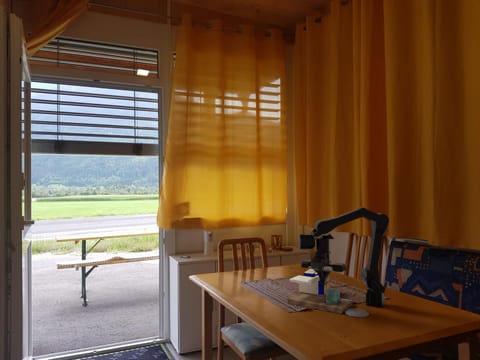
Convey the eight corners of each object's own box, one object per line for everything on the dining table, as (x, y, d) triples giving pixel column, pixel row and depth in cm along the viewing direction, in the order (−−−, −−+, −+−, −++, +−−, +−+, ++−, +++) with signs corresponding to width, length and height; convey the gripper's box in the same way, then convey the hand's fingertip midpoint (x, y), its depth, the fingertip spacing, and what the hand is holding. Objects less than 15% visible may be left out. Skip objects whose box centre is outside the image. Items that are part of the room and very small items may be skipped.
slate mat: (371, 312, 147) (371, 311, 147) (364, 319, 139) (364, 317, 139) (349, 308, 152) (349, 307, 152) (341, 314, 145) (341, 313, 145)
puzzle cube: (303, 293, 175) (303, 272, 175) (309, 288, 184) (309, 268, 184) (324, 296, 170) (323, 274, 171) (329, 291, 179) (329, 270, 179)
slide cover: (320, 294, 164) (320, 275, 164) (311, 299, 156) (310, 280, 156) (300, 290, 170) (299, 272, 170) (289, 295, 161) (289, 276, 162)
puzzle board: (352, 305, 157) (352, 299, 157) (340, 313, 145) (340, 308, 145) (301, 295, 171) (301, 290, 171) (287, 303, 159) (287, 298, 159)
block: (339, 306, 155) (339, 289, 155) (336, 309, 151) (336, 292, 152) (330, 304, 157) (329, 288, 158) (326, 307, 154) (326, 290, 154)
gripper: (294, 250, 157) (295, 286, 156) (336, 254, 146) (337, 293, 145) (306, 246, 166) (306, 281, 165) (346, 250, 155) (347, 287, 154)
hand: (323, 285), depth 157 cm, fingers closed
